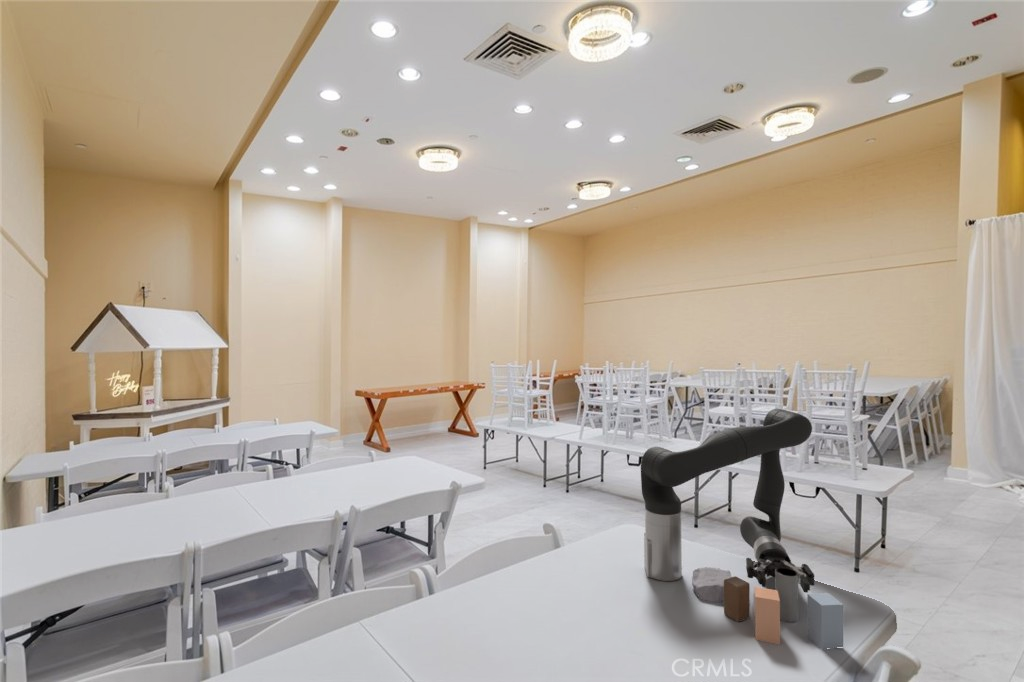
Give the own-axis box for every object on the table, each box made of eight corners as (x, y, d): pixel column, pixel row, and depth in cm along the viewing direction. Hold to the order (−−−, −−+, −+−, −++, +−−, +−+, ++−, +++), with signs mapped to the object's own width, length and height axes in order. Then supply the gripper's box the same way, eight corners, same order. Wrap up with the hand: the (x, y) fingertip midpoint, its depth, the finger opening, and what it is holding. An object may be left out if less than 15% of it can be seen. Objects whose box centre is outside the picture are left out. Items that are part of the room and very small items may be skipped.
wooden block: (738, 623, 111) (738, 587, 111) (723, 614, 115) (723, 579, 114) (750, 618, 113) (750, 582, 113) (735, 609, 116) (735, 575, 116)
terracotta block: (755, 639, 105) (755, 596, 105) (754, 627, 109) (754, 586, 109) (780, 644, 103) (779, 600, 103) (777, 632, 107) (777, 590, 107)
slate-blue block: (821, 649, 101) (821, 605, 101) (807, 636, 106) (807, 593, 106) (843, 648, 102) (843, 604, 101) (828, 635, 106) (828, 593, 106)
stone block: (698, 608, 121) (741, 604, 119) (693, 588, 121) (737, 583, 119) (691, 585, 132) (731, 581, 130) (687, 567, 133) (727, 563, 130)
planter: (795, 613, 115) (795, 568, 114) (800, 623, 110) (800, 577, 110) (773, 609, 116) (773, 565, 116) (777, 620, 112) (776, 574, 112)
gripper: (741, 538, 132) (750, 565, 117) (802, 544, 128) (820, 573, 113) (741, 566, 133) (751, 597, 117) (802, 573, 128) (820, 606, 113)
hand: (785, 585), depth 115 cm, fingers open, 8 cm apart
